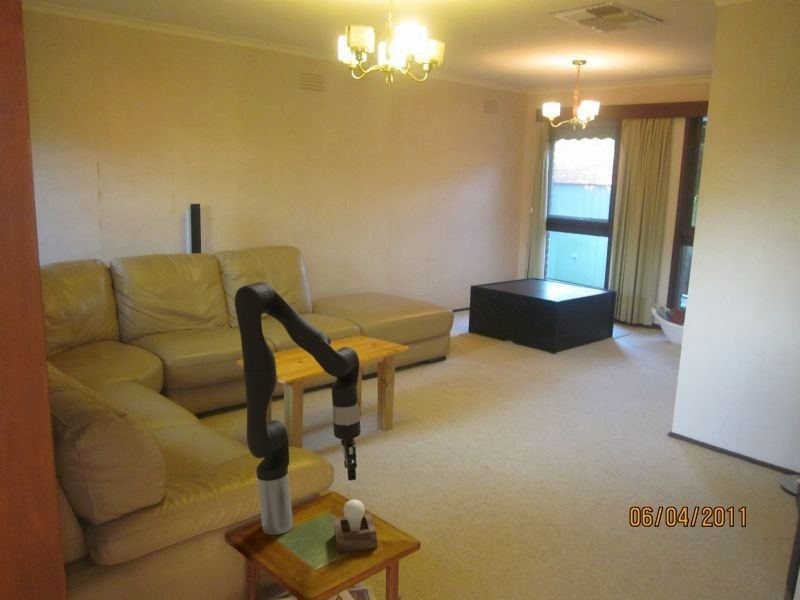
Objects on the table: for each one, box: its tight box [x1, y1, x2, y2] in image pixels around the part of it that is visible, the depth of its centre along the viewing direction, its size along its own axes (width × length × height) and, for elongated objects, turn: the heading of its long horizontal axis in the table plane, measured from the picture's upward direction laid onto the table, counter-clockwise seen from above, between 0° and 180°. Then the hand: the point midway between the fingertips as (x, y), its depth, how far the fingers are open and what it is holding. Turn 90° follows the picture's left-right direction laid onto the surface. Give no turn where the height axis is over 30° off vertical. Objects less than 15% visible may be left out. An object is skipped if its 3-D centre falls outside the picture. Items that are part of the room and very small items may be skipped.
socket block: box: [333, 512, 378, 555], centre depth 187 cm, size 11×11×5 cm
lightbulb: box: [342, 499, 366, 532], centre depth 186 cm, size 6×6×11 cm
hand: (350, 473), depth 184 cm, fingers open, 8 cm apart
